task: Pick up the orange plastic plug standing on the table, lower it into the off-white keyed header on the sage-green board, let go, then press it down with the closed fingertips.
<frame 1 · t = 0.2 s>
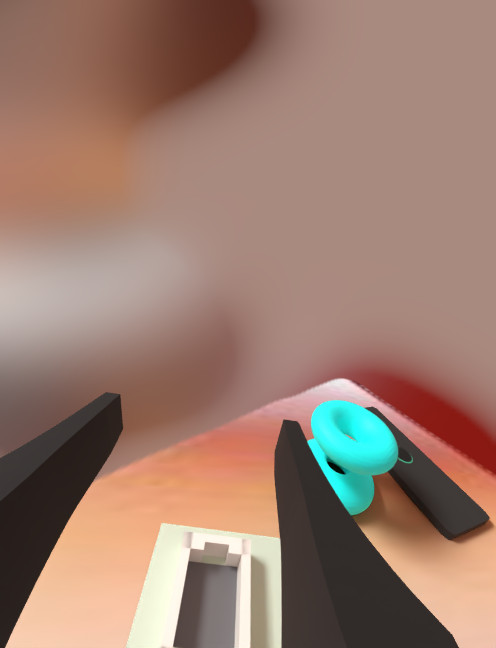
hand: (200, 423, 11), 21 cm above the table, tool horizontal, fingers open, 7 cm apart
header: (206, 612, 21), resting on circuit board
donuts: (329, 480, 34), on the table
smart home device: (398, 462, 40), on the table
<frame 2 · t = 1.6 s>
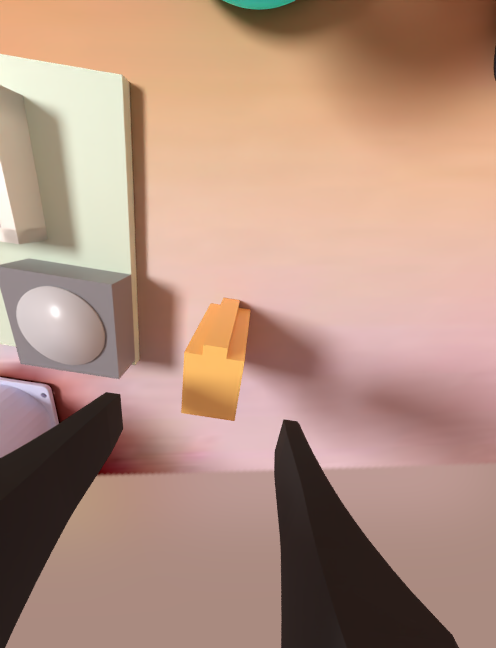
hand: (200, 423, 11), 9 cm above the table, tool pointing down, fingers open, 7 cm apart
grey dome button: (92, 309, 20), resting on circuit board
plug: (227, 330, 20), on the table
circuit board: (34, 234, 18), on the table
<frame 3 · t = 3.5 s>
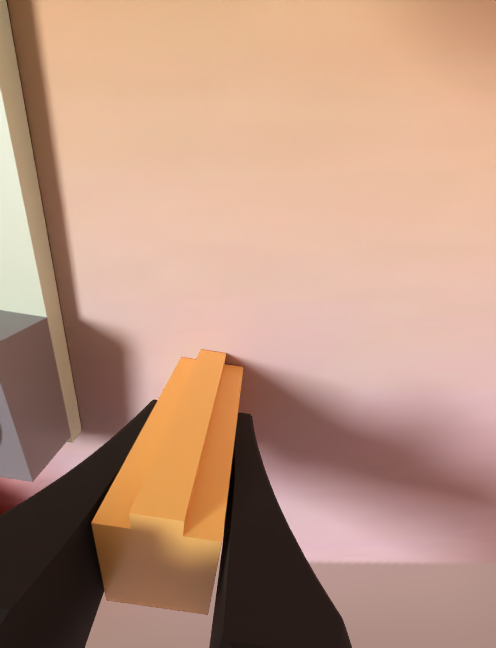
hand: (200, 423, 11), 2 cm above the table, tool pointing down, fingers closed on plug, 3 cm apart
grey dome button: (2, 363, 13), resting on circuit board
plug: (208, 394, 13), on the table, touching gripper
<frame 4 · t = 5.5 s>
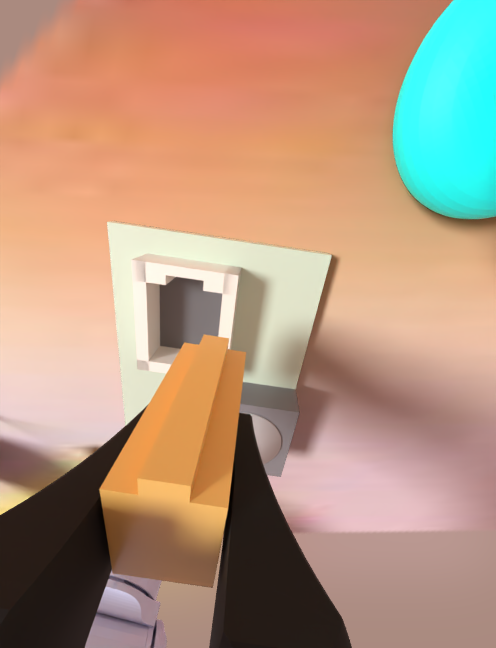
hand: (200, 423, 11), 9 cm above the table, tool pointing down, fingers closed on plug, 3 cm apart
header: (194, 312, 19), resting on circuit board
grey dome button: (246, 409, 22), resting on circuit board
plug: (211, 380, 13), point 7 cm above the table, touching gripper
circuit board: (211, 355, 20), on the table
donuts: (480, 115, 13), on the table
when the fingers open (4 cm above the table, at t = 7.4 s): plug stays where it is, resting on header.
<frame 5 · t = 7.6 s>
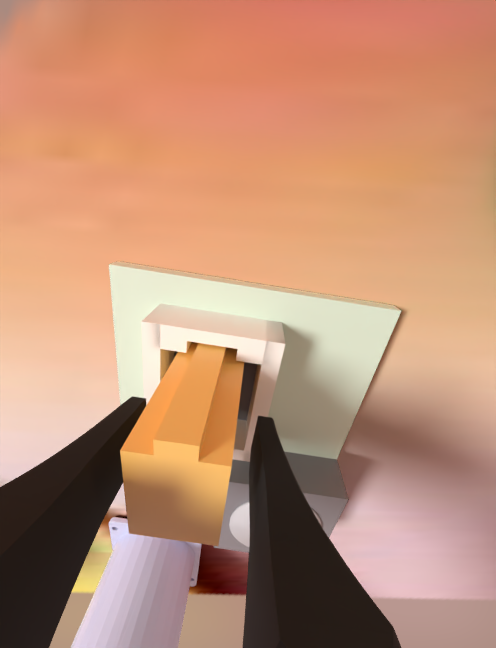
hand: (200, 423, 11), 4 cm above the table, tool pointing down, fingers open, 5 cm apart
header: (216, 368, 15), resting on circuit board
grey dome button: (273, 474, 19), resting on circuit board
plug: (214, 368, 14), point 1 cm above the table, touching header
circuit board: (234, 416, 17), on the table
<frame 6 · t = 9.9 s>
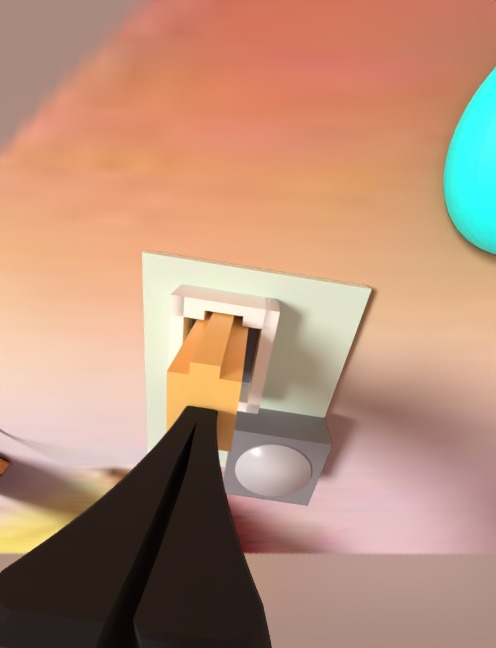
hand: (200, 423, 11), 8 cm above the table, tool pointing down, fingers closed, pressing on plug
header: (224, 340, 18), resting on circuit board
grey dome button: (271, 434, 22), resting on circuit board
plug: (223, 338, 17), point 1 cm above the table, touching gripper, header
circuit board: (239, 382, 20), on the table
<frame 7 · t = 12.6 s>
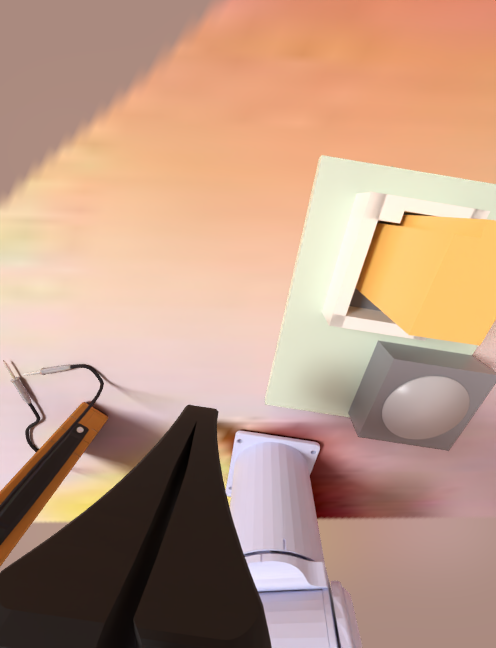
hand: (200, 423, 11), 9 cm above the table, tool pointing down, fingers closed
header: (378, 266, 17), resting on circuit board
grey dome button: (400, 379, 21), resting on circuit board
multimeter: (49, 404, 24), on the table
plug: (387, 260, 16), point 1 cm above the table, touching header
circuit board: (380, 317, 19), on the table
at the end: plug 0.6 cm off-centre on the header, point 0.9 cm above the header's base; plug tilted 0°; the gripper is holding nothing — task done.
